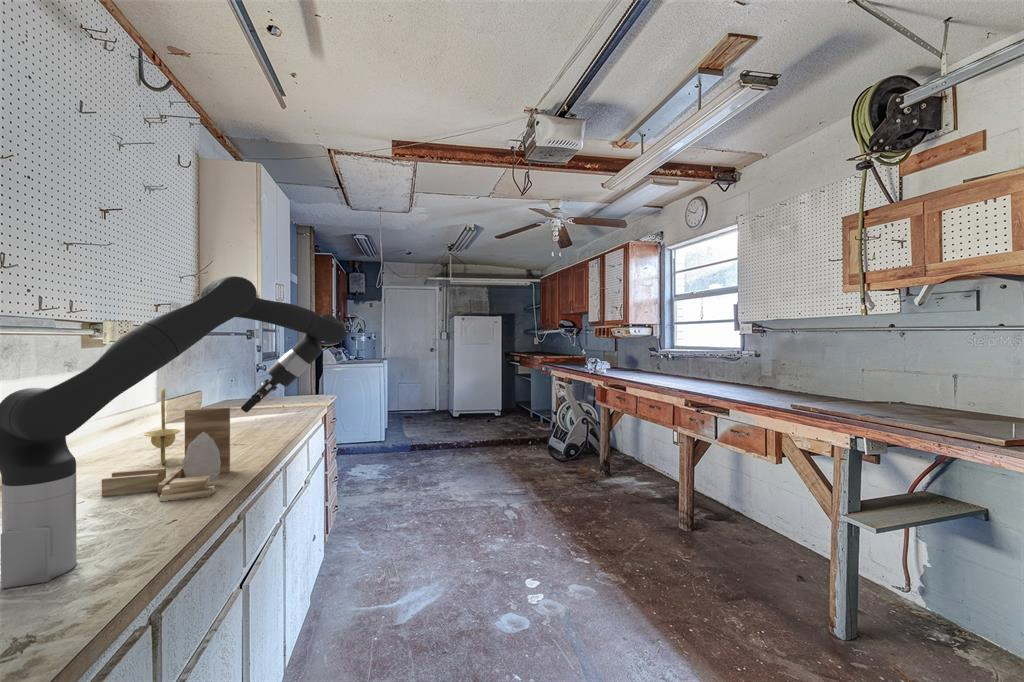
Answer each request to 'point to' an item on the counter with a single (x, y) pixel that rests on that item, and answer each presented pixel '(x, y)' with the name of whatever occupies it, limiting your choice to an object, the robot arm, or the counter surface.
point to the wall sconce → (162, 432)
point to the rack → (213, 425)
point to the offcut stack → (187, 488)
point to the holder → (133, 481)
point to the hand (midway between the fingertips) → (246, 407)
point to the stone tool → (202, 458)
